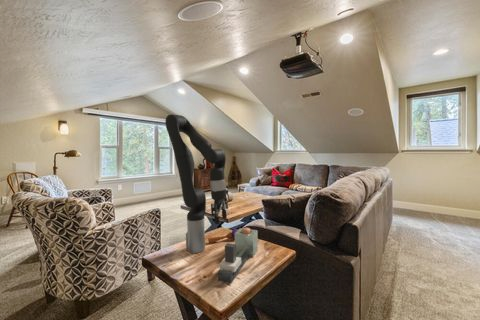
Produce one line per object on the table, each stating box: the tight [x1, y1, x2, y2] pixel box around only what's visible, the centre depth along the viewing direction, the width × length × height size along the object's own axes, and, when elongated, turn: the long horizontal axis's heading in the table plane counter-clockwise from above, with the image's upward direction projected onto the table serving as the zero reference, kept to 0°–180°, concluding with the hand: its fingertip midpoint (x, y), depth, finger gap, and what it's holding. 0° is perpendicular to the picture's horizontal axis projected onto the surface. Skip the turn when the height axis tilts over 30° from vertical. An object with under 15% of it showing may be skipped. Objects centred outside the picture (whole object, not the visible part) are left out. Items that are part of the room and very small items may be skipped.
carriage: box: [219, 242, 241, 273], centre depth 95 cm, size 8×7×11 cm
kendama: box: [207, 228, 239, 245], centre depth 130 cm, size 6×6×20 cm
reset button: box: [242, 227, 251, 234], centre depth 114 cm, size 4×4×4 cm
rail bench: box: [217, 227, 259, 284], centre depth 104 cm, size 32×10×11 cm, turn 159°
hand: (221, 221), depth 109 cm, fingers open, 8 cm apart
